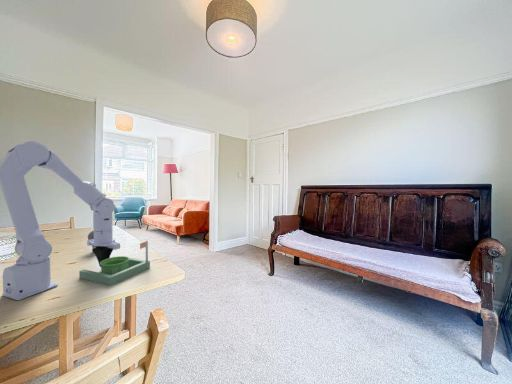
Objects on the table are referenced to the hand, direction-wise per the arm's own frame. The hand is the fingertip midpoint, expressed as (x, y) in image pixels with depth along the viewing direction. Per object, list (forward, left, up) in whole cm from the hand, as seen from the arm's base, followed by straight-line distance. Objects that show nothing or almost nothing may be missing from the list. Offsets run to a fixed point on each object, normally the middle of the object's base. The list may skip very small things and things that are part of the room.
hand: (103, 266), depth 82 cm
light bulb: (+14, +24, -2) cm, 28 cm away
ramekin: (0, -6, -2) cm, 6 cm away
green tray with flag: (0, -6, -1) cm, 6 cm away
